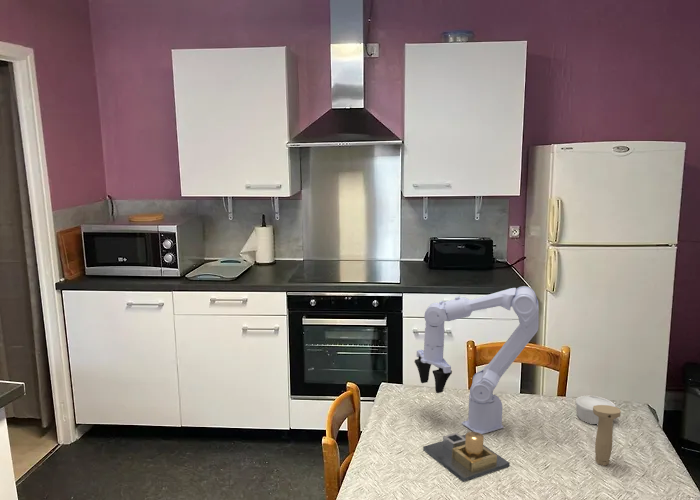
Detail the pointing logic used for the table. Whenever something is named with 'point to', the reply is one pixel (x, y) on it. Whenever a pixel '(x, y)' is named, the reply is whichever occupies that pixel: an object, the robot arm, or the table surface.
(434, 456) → the fitting plate
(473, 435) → the cylindrical peg
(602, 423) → the handle
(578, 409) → the ramekin
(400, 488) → the table surface
